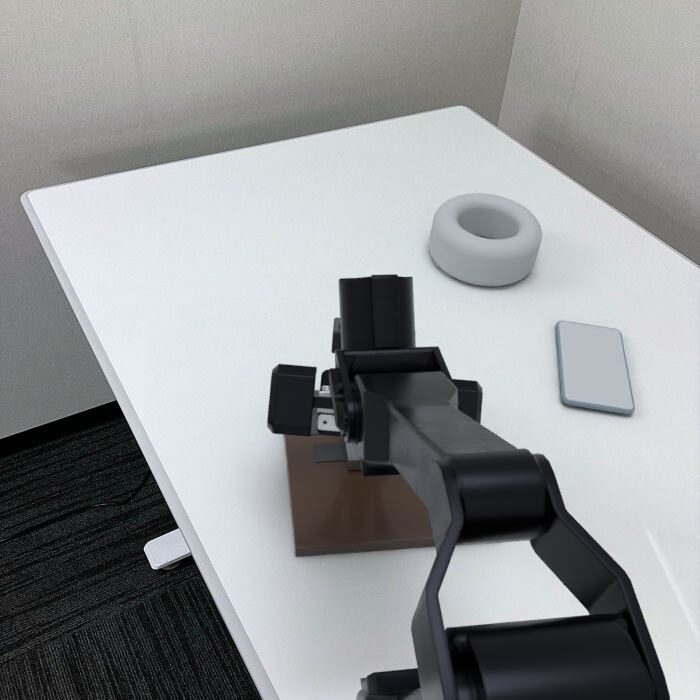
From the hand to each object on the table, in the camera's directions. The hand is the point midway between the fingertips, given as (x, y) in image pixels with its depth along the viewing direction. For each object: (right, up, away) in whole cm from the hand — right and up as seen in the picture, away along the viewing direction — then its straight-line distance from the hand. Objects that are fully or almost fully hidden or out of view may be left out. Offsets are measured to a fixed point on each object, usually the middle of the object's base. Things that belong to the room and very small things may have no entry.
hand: (370, 404), depth 77 cm
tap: (-1, -3, +5) cm, 6 cm away
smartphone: (+27, +3, +17) cm, 32 cm away
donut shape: (+16, +18, +32) cm, 41 cm away
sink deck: (+1, -7, +3) cm, 8 cm away
